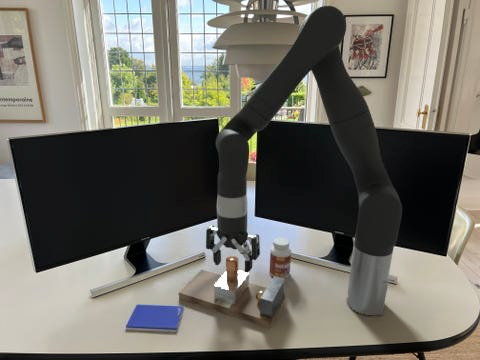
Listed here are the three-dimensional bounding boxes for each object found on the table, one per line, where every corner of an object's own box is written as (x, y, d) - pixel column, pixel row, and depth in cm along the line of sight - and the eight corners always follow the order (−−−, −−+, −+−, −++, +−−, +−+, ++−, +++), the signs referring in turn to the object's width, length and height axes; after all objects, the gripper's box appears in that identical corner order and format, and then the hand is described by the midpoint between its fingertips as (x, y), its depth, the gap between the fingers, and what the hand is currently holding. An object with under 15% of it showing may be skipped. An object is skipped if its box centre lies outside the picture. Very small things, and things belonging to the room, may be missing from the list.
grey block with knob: (283, 295, 91) (284, 279, 89) (271, 318, 82) (272, 301, 81) (262, 289, 93) (263, 273, 92) (248, 311, 85) (249, 294, 83)
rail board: (284, 299, 92) (285, 292, 92) (269, 328, 82) (270, 321, 81) (201, 275, 102) (201, 269, 102) (179, 298, 92) (178, 292, 91)
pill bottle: (273, 281, 100) (275, 247, 97) (266, 269, 106) (267, 237, 102) (293, 277, 102) (295, 244, 98) (284, 266, 108) (286, 235, 104)
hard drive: (184, 305, 88) (137, 303, 89) (177, 328, 80) (125, 325, 81) (184, 310, 89) (137, 308, 89) (177, 333, 81) (126, 331, 81)
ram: (248, 285, 94) (249, 253, 91) (235, 304, 86) (235, 271, 83) (229, 279, 97) (229, 248, 93) (214, 298, 89) (213, 265, 86)
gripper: (264, 209, 84) (263, 266, 89) (213, 200, 90) (215, 254, 95) (253, 221, 78) (252, 281, 83) (199, 211, 83) (201, 268, 88)
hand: (232, 267), depth 89 cm, fingers open, 8 cm apart
